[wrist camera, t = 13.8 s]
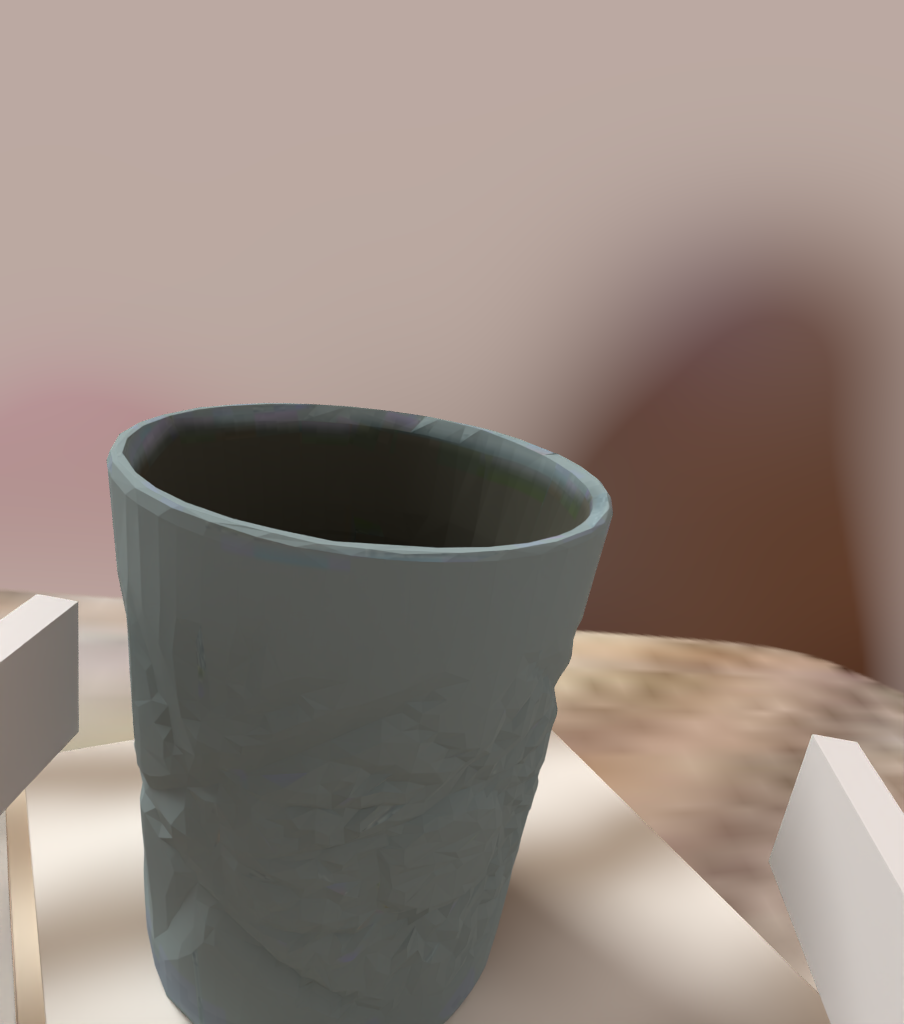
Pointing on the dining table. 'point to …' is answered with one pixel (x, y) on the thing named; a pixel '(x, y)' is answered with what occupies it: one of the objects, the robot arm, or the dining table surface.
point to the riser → (516, 947)
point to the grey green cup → (340, 696)
